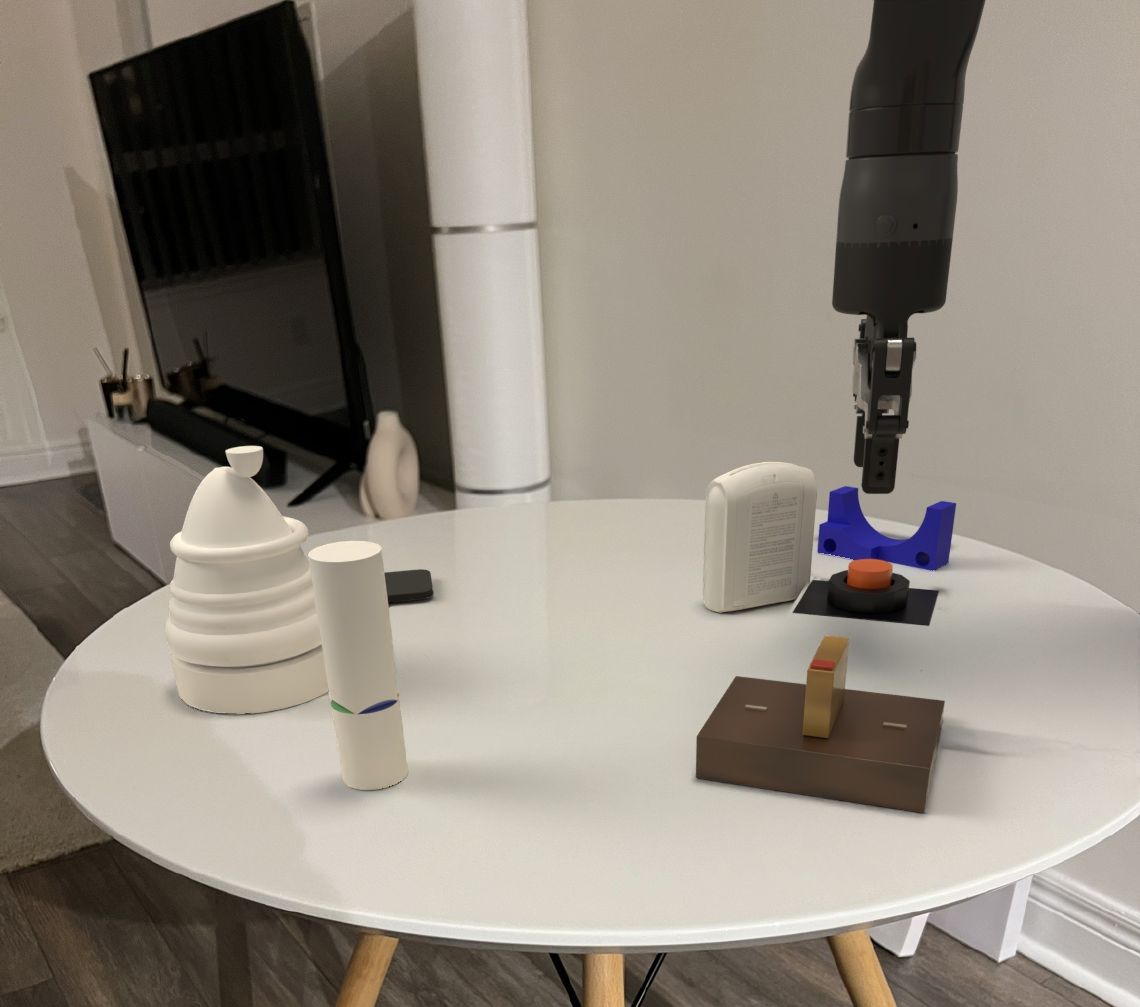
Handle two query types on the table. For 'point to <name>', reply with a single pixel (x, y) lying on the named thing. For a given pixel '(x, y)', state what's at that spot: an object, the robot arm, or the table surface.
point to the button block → (868, 601)
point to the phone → (408, 585)
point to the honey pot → (242, 599)
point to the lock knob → (825, 686)
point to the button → (869, 573)
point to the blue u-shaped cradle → (861, 541)
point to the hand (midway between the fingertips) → (872, 478)
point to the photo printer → (758, 535)
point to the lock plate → (823, 744)
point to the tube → (359, 662)
